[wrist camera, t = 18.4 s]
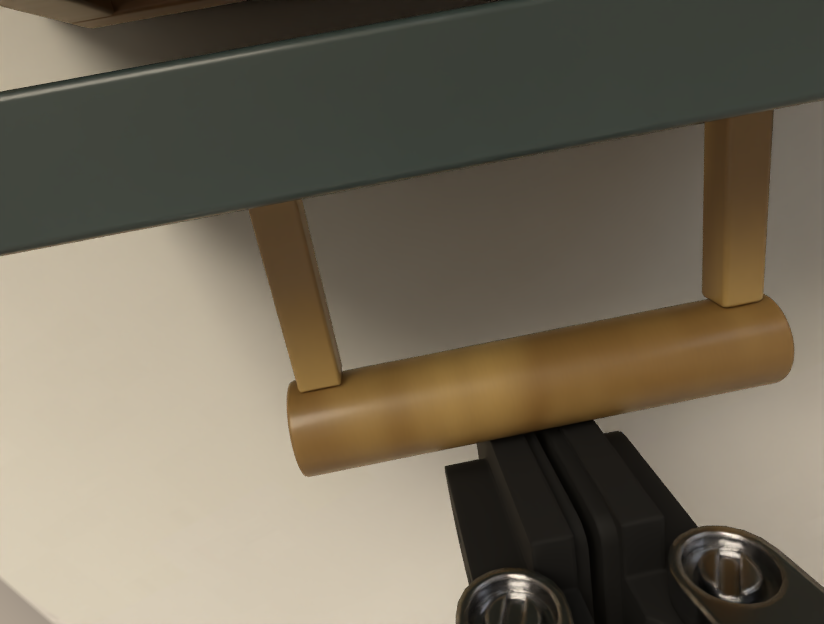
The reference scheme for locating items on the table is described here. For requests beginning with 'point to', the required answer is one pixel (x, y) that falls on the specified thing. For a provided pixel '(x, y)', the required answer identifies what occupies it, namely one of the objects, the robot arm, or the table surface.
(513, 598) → the robot arm
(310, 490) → the table surface
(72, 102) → the drawer
